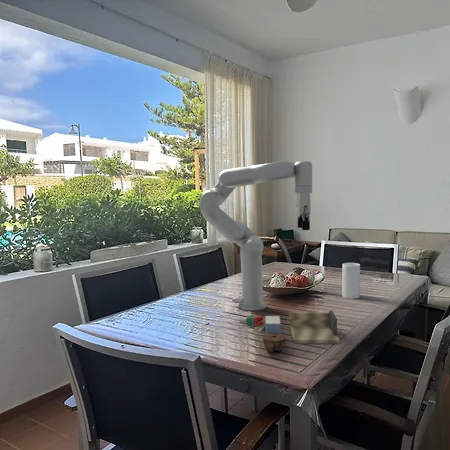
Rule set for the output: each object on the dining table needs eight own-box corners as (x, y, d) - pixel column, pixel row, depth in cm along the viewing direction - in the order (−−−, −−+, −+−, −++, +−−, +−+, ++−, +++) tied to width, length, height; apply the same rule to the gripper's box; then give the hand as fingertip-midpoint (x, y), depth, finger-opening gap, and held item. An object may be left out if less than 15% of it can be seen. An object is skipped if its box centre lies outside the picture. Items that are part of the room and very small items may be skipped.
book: (266, 344, 149) (266, 323, 148) (265, 335, 158) (265, 315, 157) (280, 344, 149) (280, 323, 148) (279, 335, 158) (279, 315, 157)
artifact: (259, 353, 141) (259, 339, 141) (266, 345, 148) (265, 331, 148) (282, 356, 138) (282, 341, 138) (287, 348, 145) (287, 334, 145)
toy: (248, 311, 181) (280, 311, 173) (249, 320, 181) (281, 321, 173) (230, 321, 168) (264, 322, 160) (232, 331, 168) (265, 332, 160)
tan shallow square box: (293, 343, 150) (293, 323, 149) (289, 327, 166) (289, 309, 165) (339, 343, 148) (339, 323, 148) (331, 327, 164) (331, 309, 164)
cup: (341, 297, 206) (341, 265, 205) (343, 293, 214) (343, 262, 212) (358, 299, 203) (359, 266, 202) (360, 294, 211) (360, 263, 209)
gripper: (291, 189, 194) (291, 227, 196) (298, 190, 177) (298, 231, 178) (307, 189, 194) (307, 226, 196) (316, 190, 177) (316, 230, 179)
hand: (303, 228), depth 187 cm, fingers open, 9 cm apart
